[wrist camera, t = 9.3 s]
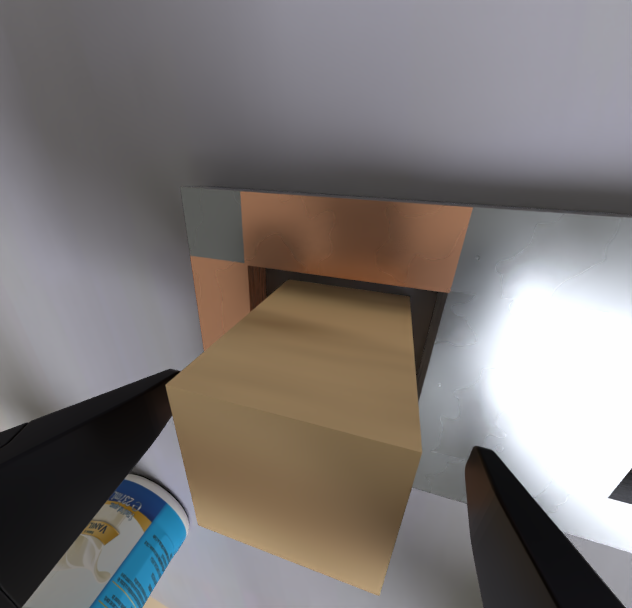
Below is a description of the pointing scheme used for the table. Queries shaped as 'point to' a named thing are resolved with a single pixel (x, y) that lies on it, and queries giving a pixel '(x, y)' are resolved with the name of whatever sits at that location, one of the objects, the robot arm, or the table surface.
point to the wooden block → (306, 428)
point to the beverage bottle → (118, 551)
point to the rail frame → (466, 327)
